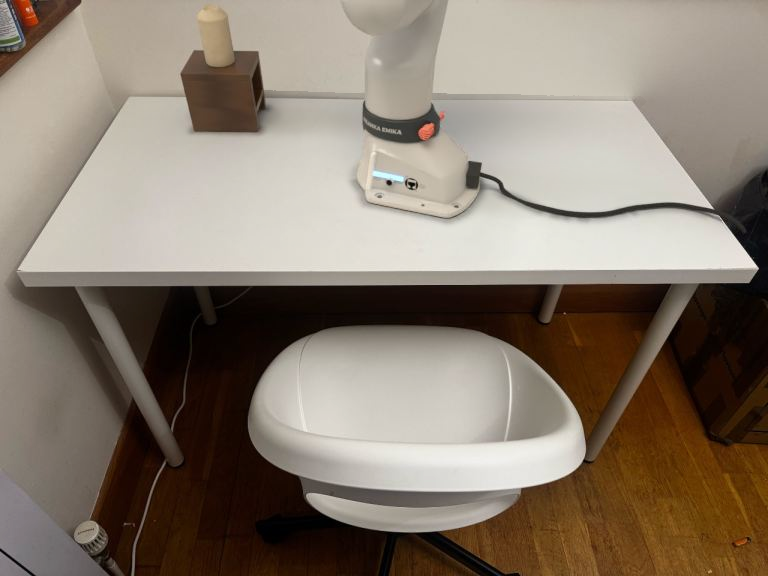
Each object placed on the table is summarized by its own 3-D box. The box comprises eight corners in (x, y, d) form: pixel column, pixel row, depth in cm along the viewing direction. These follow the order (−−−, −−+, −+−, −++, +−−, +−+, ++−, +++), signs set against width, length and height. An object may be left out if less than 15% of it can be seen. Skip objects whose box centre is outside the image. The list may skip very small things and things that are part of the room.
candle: (203, 58, 111) (192, 4, 104) (231, 54, 112) (221, 0, 105) (209, 69, 107) (198, 14, 100) (238, 64, 109) (229, 10, 102)
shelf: (266, 106, 122) (258, 50, 114) (258, 132, 114) (249, 74, 106) (205, 105, 122) (193, 49, 114) (194, 131, 114) (179, 73, 106)
